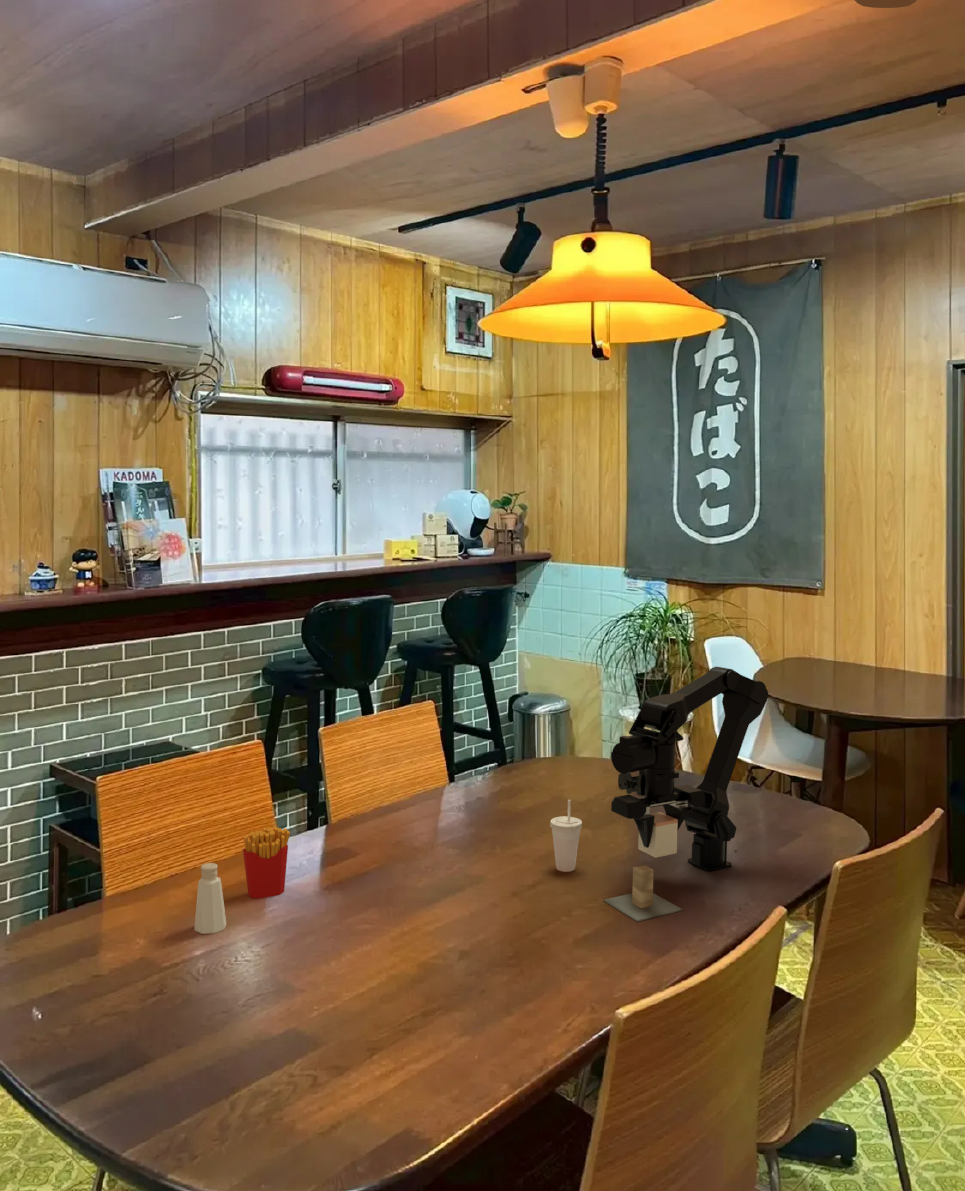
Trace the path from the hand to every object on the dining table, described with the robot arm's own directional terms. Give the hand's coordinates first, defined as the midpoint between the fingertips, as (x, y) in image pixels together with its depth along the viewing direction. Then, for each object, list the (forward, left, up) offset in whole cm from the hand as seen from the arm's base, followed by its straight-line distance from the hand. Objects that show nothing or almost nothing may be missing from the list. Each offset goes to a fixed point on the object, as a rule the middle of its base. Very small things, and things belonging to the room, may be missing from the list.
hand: (657, 844), depth 191 cm
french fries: (+68, -30, -8) cm, 74 cm away
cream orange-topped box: (0, 0, -1) cm, 1 cm away
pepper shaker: (+81, -20, -8) cm, 84 cm away
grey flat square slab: (+10, +8, -7) cm, 15 cm away
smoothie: (+12, -14, -8) cm, 20 cm away
